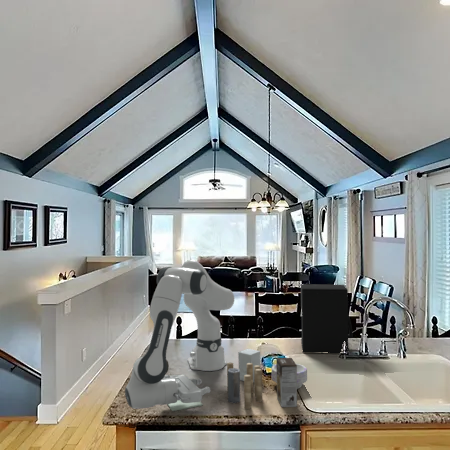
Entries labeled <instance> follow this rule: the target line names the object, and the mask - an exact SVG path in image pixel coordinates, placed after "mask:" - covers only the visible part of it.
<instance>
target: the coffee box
mask: <svg viewBox="0 0 450 450" xmlns="http://www.w3.org/2000/svg"><path fill="white" fill-rule="evenodd" d="M275 360H276V364H277V383H276V398H277V400H278V403H279V404H280V405H279V406H280V407H281V408H293V407H295V408H297V407H298V389H297V365H296V364H297V363H296V362H295V361H294V359H293V358H292V357H276V359H275Z"/></svg>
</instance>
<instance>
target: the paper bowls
mask: <svg viewBox="0 0 450 450" xmlns="http://www.w3.org/2000/svg"><path fill="white" fill-rule="evenodd" d="M296 365H297V390H298V389H300V388H301V387H302V386H303V384H304V383H306V382H308V368H307V367H306V366H305V365H303V364H299V363H296ZM271 380H272V381H273V382H274V383H276V384H277V363H276V364H273V365H272V366H271Z"/></svg>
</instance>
